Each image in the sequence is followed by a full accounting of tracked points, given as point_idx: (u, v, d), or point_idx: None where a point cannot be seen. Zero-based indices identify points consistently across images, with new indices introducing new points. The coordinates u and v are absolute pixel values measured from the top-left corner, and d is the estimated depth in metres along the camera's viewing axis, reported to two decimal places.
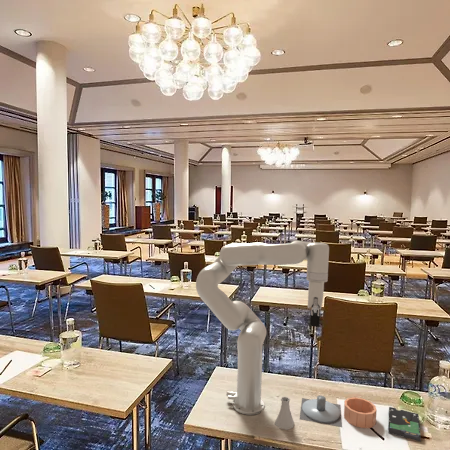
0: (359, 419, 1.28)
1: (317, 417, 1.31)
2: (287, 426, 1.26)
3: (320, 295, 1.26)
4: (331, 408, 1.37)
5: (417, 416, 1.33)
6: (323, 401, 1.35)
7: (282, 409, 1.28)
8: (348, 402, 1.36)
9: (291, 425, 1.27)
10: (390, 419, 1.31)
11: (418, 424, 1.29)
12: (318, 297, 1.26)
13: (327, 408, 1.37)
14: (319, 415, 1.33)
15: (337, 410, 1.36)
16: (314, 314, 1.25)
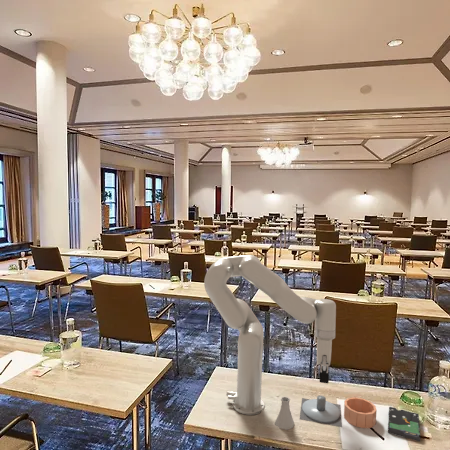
0: (359, 419, 1.28)
1: (317, 417, 1.31)
2: (287, 426, 1.26)
3: (329, 353, 1.30)
4: (331, 408, 1.37)
5: (417, 416, 1.33)
6: (323, 401, 1.35)
7: (282, 409, 1.28)
8: (348, 402, 1.36)
9: (291, 425, 1.27)
10: (390, 419, 1.31)
11: (418, 424, 1.29)
12: (327, 355, 1.30)
13: (327, 408, 1.37)
14: (319, 414, 1.33)
15: (337, 410, 1.36)
16: (323, 371, 1.30)
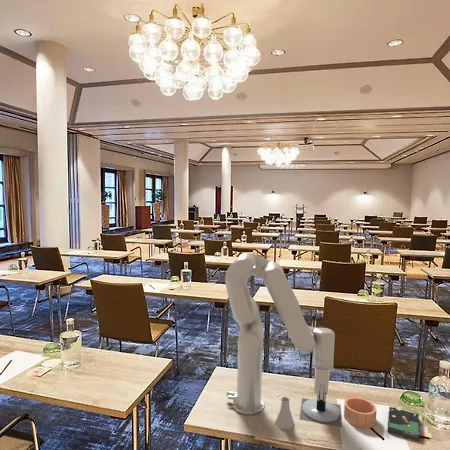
0: (359, 419, 1.28)
1: (317, 417, 1.31)
2: (287, 426, 1.26)
3: (326, 382, 1.31)
4: (331, 408, 1.37)
5: (417, 416, 1.33)
6: None
7: (282, 409, 1.28)
8: (348, 402, 1.36)
9: (291, 425, 1.27)
10: (390, 419, 1.31)
11: (418, 424, 1.29)
12: (324, 384, 1.31)
13: (327, 408, 1.37)
14: (319, 414, 1.33)
15: (337, 410, 1.36)
16: (320, 400, 1.33)
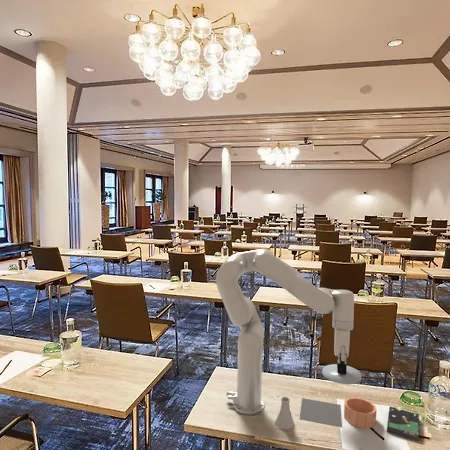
0: (359, 419, 1.28)
1: (339, 379, 1.29)
2: (287, 426, 1.26)
3: (347, 343, 1.28)
4: (351, 371, 1.35)
5: (417, 416, 1.33)
6: None
7: (282, 409, 1.28)
8: (348, 402, 1.36)
9: (291, 425, 1.27)
10: (389, 418, 1.31)
11: (418, 424, 1.29)
12: (345, 345, 1.28)
13: (348, 371, 1.35)
14: (341, 377, 1.30)
15: (358, 373, 1.34)
16: (341, 363, 1.30)
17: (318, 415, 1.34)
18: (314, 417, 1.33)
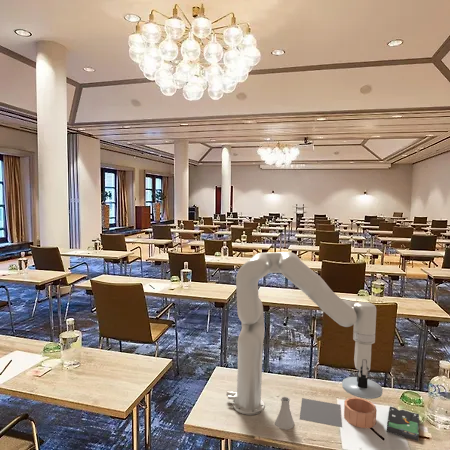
0: (359, 419, 1.28)
1: (360, 393, 1.27)
2: (287, 426, 1.26)
3: (369, 357, 1.27)
4: (372, 385, 1.33)
5: (418, 416, 1.33)
6: None
7: (282, 409, 1.28)
8: (348, 402, 1.36)
9: (291, 425, 1.27)
10: (389, 418, 1.31)
11: (417, 424, 1.29)
12: (367, 359, 1.27)
13: (368, 385, 1.33)
14: (361, 391, 1.28)
15: (379, 386, 1.32)
16: (362, 376, 1.29)
17: (318, 415, 1.34)
18: (314, 417, 1.33)
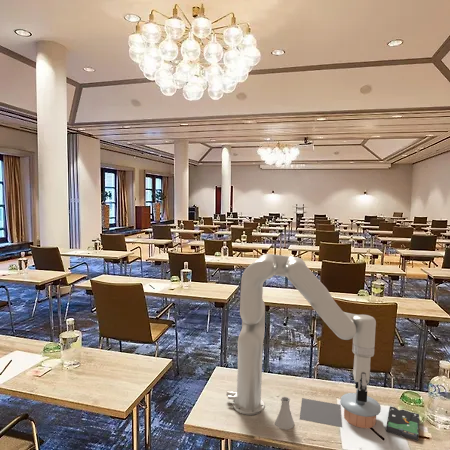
0: (359, 419, 1.28)
1: (358, 411, 1.27)
2: (287, 426, 1.26)
3: (368, 370, 1.27)
4: (370, 402, 1.33)
5: (418, 417, 1.33)
6: None
7: (282, 409, 1.28)
8: None
9: (291, 425, 1.27)
10: (389, 418, 1.32)
11: (417, 424, 1.29)
12: (366, 372, 1.27)
13: (366, 402, 1.33)
14: (360, 408, 1.29)
15: (377, 404, 1.32)
16: (362, 390, 1.26)
17: (318, 415, 1.34)
18: (314, 417, 1.33)
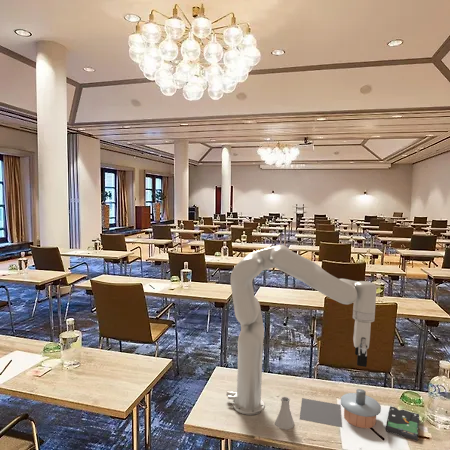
0: (359, 419, 1.28)
1: (358, 411, 1.27)
2: (287, 426, 1.26)
3: (368, 335, 1.27)
4: (370, 402, 1.33)
5: (418, 417, 1.33)
6: (364, 394, 1.31)
7: (282, 409, 1.28)
8: None
9: (291, 425, 1.27)
10: (389, 418, 1.32)
11: (417, 424, 1.29)
12: (366, 337, 1.27)
13: (367, 402, 1.33)
14: (360, 408, 1.29)
15: (377, 404, 1.32)
16: (362, 354, 1.26)
17: (318, 415, 1.34)
18: (314, 417, 1.33)
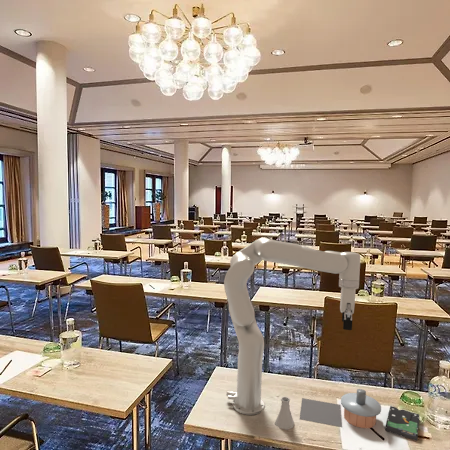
0: (359, 419, 1.28)
1: (359, 411, 1.27)
2: (287, 426, 1.26)
3: (353, 301, 1.37)
4: (371, 402, 1.33)
5: (418, 417, 1.33)
6: (364, 394, 1.31)
7: (282, 409, 1.28)
8: None
9: (291, 425, 1.27)
10: (389, 418, 1.32)
11: (417, 424, 1.29)
12: (351, 303, 1.37)
13: (367, 402, 1.33)
14: (360, 408, 1.29)
15: (378, 404, 1.32)
16: (347, 318, 1.36)
17: (318, 415, 1.34)
18: (314, 417, 1.33)
